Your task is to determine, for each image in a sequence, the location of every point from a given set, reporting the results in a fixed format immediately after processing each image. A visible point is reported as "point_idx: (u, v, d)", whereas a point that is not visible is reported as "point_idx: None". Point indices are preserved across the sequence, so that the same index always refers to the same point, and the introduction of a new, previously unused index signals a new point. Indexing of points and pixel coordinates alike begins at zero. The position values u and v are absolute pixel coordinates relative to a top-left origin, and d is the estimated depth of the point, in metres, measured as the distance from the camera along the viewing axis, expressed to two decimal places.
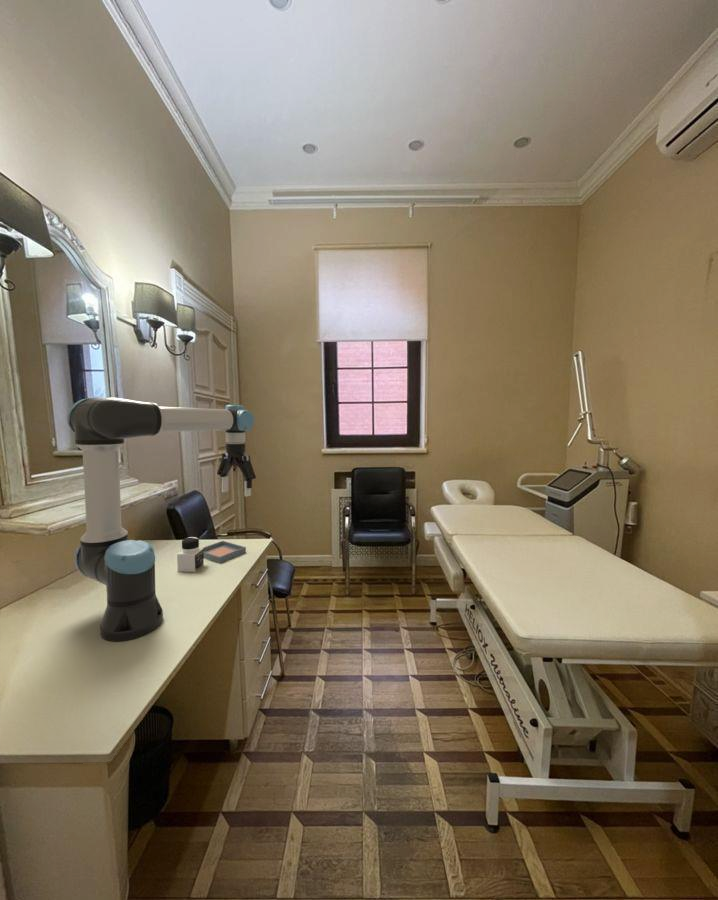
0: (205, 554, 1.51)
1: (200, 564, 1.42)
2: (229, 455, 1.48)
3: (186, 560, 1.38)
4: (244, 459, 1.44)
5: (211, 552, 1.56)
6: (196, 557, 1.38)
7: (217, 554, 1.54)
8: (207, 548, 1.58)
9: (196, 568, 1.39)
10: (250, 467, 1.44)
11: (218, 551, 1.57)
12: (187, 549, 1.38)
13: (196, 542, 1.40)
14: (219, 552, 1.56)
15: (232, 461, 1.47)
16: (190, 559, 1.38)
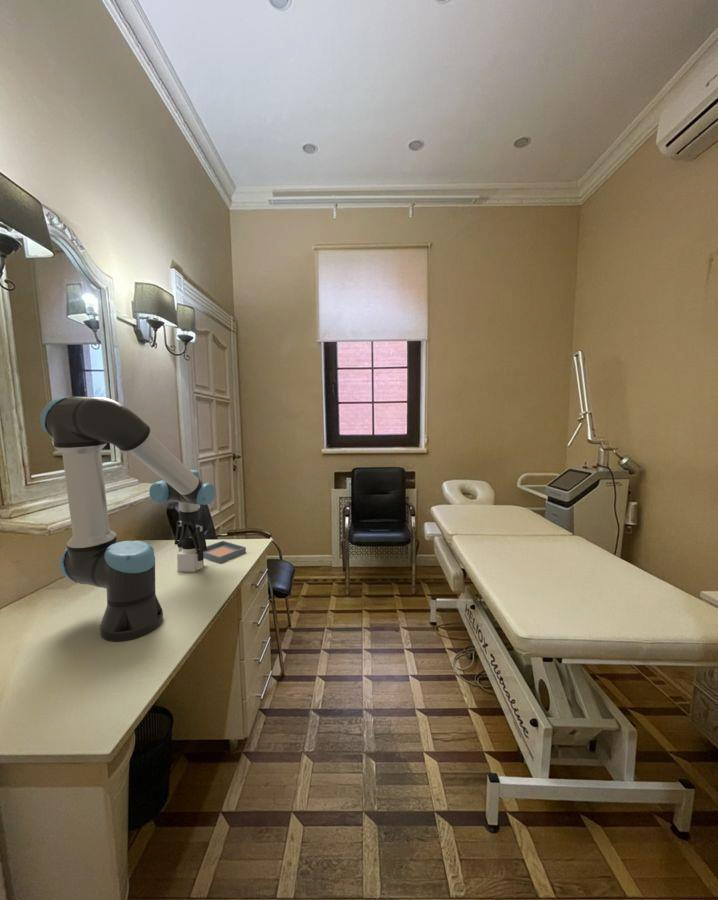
0: (205, 554, 1.51)
1: None
2: (183, 522, 1.40)
3: (186, 560, 1.38)
4: (197, 530, 1.36)
5: (211, 552, 1.56)
6: None
7: (217, 554, 1.54)
8: (207, 548, 1.58)
9: None
10: (202, 539, 1.37)
11: (218, 551, 1.57)
12: (187, 549, 1.38)
13: None
14: (219, 552, 1.56)
15: (186, 529, 1.40)
16: (190, 558, 1.38)
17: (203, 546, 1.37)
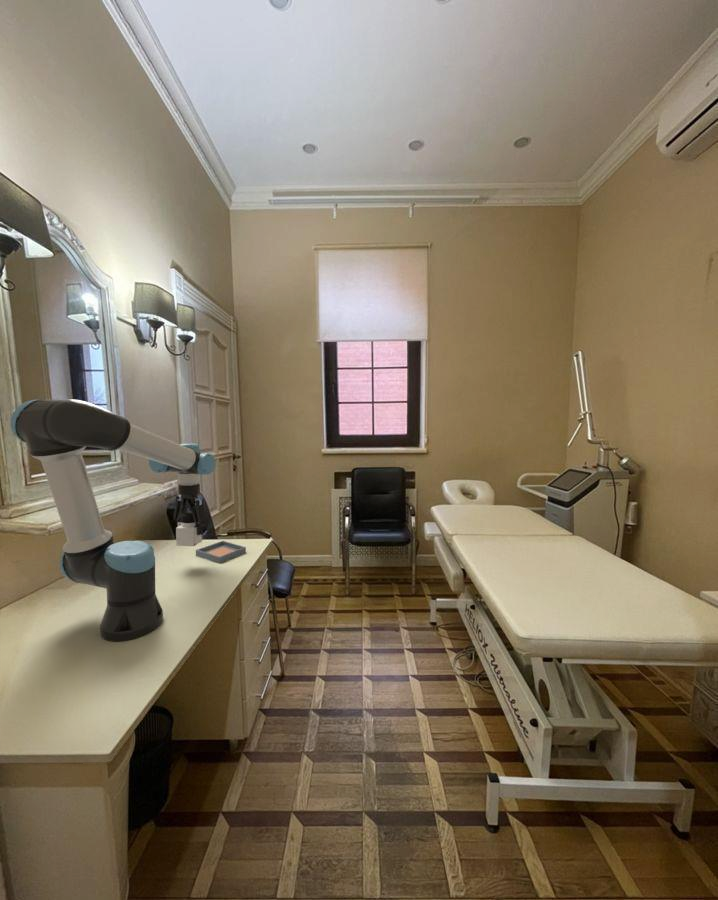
0: (205, 554, 1.51)
1: None
2: (182, 496, 1.39)
3: (185, 534, 1.36)
4: (196, 503, 1.35)
5: (211, 552, 1.56)
6: None
7: (217, 554, 1.54)
8: (207, 548, 1.58)
9: None
10: (202, 512, 1.36)
11: (218, 551, 1.57)
12: (186, 523, 1.37)
13: None
14: (219, 552, 1.56)
15: (185, 503, 1.39)
16: (189, 532, 1.36)
17: (202, 520, 1.36)
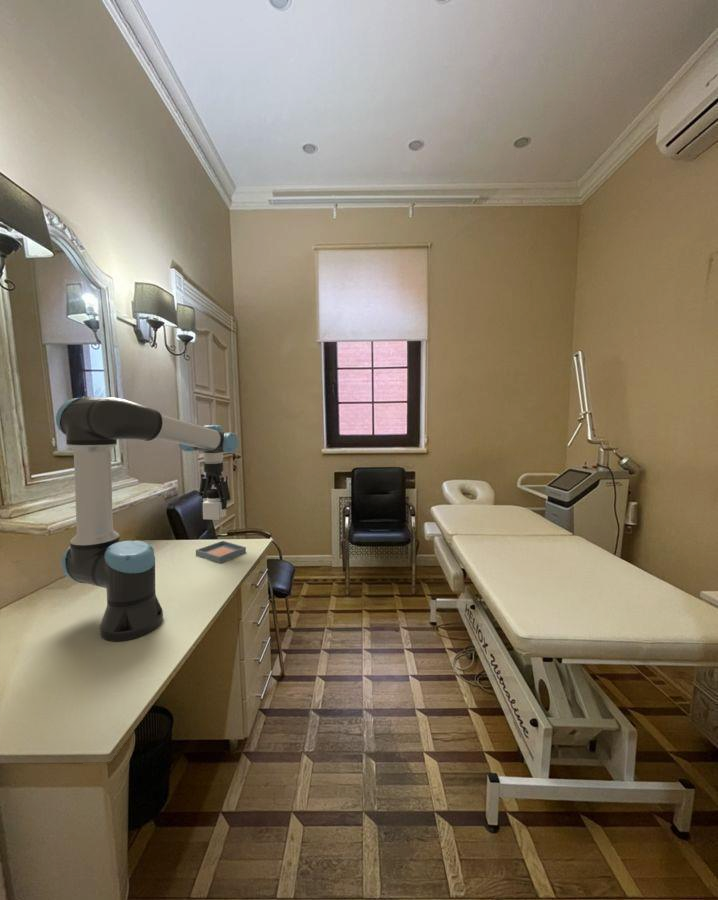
0: (205, 554, 1.51)
1: None
2: (207, 474, 1.50)
3: (210, 508, 1.48)
4: (221, 480, 1.46)
5: (211, 552, 1.56)
6: None
7: (217, 554, 1.54)
8: (207, 548, 1.58)
9: None
10: (226, 488, 1.47)
11: (218, 551, 1.57)
12: (212, 498, 1.48)
13: None
14: (219, 552, 1.56)
15: (210, 480, 1.50)
16: (214, 507, 1.48)
17: (227, 495, 1.47)
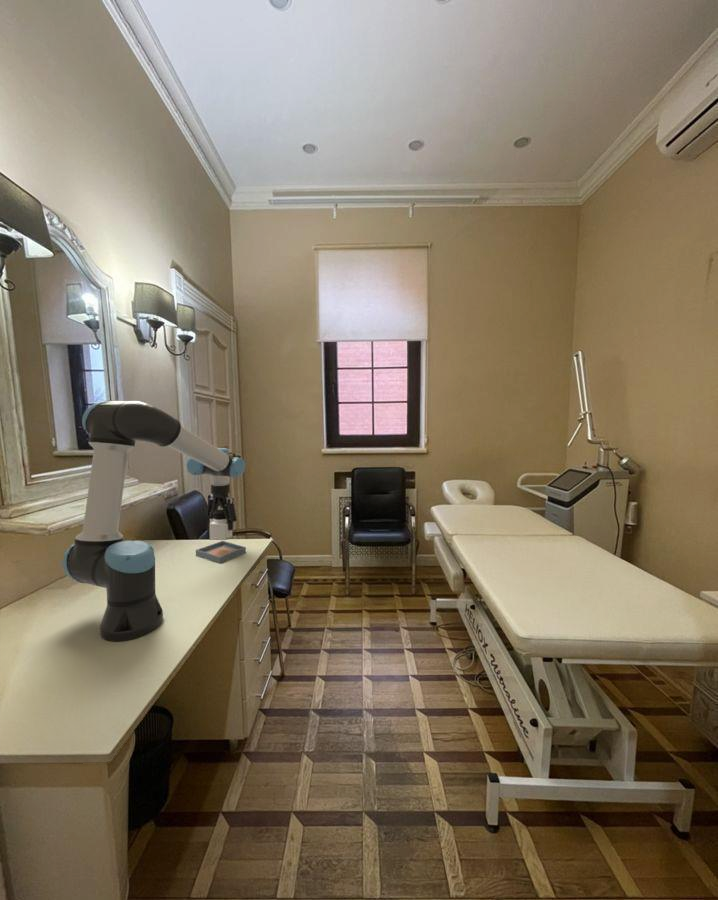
0: (205, 554, 1.51)
1: None
2: (214, 495, 1.54)
3: (217, 529, 1.52)
4: (228, 502, 1.50)
5: (211, 552, 1.56)
6: None
7: (217, 554, 1.54)
8: (207, 548, 1.58)
9: None
10: (232, 510, 1.51)
11: (218, 551, 1.57)
12: (218, 519, 1.52)
13: None
14: (219, 552, 1.56)
15: (217, 501, 1.54)
16: (221, 528, 1.52)
17: (233, 516, 1.51)
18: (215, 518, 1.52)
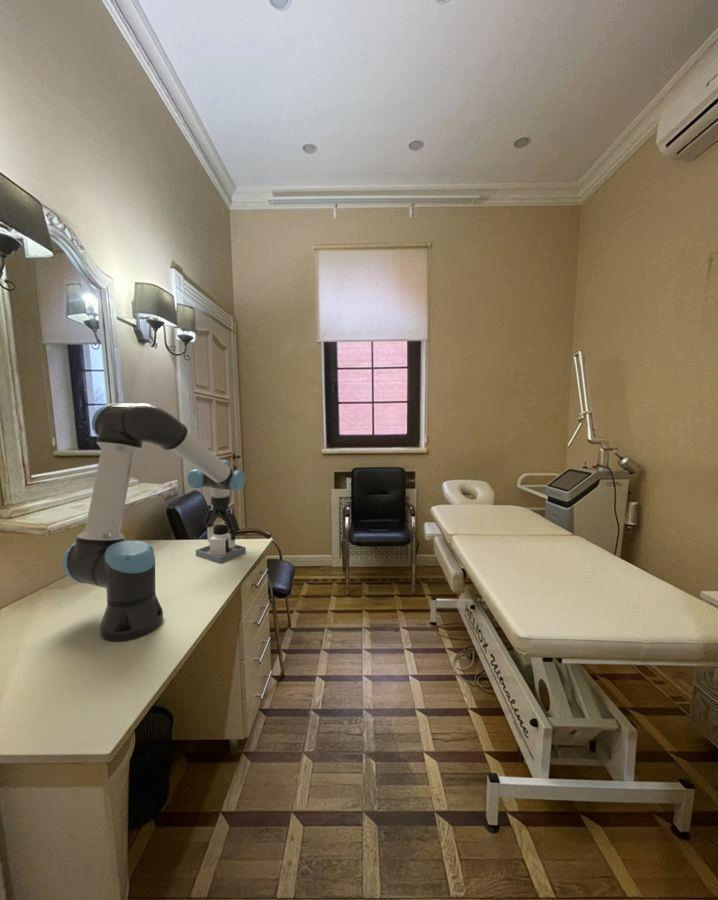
0: (205, 554, 1.51)
1: (229, 549, 1.57)
2: (214, 507, 1.55)
3: (217, 544, 1.52)
4: (228, 513, 1.51)
5: None
6: (226, 542, 1.53)
7: None
8: (207, 548, 1.58)
9: (226, 552, 1.53)
10: (234, 520, 1.51)
11: None
12: (218, 534, 1.53)
13: (226, 528, 1.54)
14: None
15: (217, 513, 1.54)
16: (221, 543, 1.52)
17: (235, 526, 1.50)
18: (215, 533, 1.53)
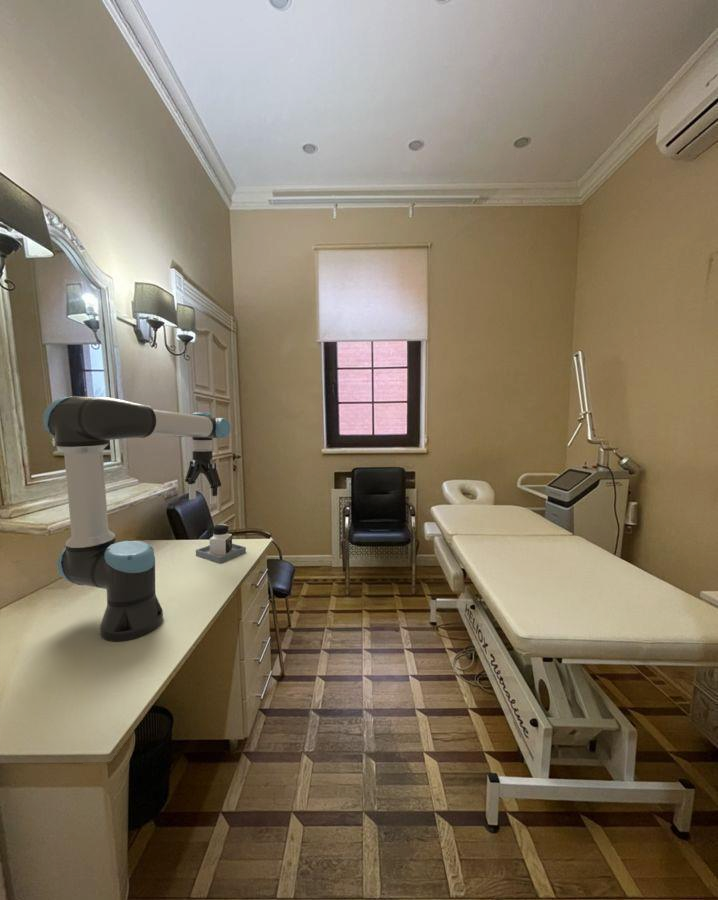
0: (205, 554, 1.51)
1: (229, 549, 1.57)
2: (196, 462, 1.48)
3: (217, 544, 1.52)
4: (210, 466, 1.44)
5: None
6: (226, 542, 1.53)
7: None
8: (207, 548, 1.58)
9: (226, 552, 1.53)
10: (216, 475, 1.44)
11: None
12: (218, 534, 1.53)
13: (226, 528, 1.54)
14: None
15: (199, 468, 1.47)
16: (221, 543, 1.52)
17: (217, 481, 1.43)
18: (215, 533, 1.53)
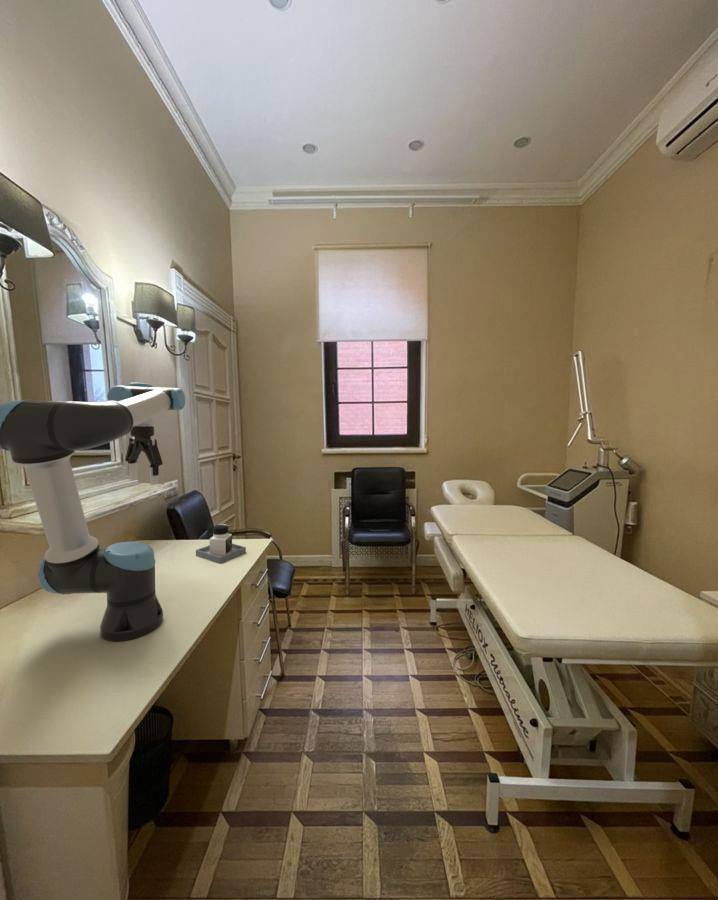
0: (205, 554, 1.51)
1: (229, 549, 1.57)
2: (135, 439, 1.33)
3: (217, 544, 1.52)
4: (149, 443, 1.29)
5: None
6: (226, 542, 1.53)
7: None
8: (207, 548, 1.58)
9: (226, 552, 1.53)
10: (156, 452, 1.29)
11: None
12: (218, 534, 1.53)
13: (226, 528, 1.54)
14: None
15: (138, 446, 1.33)
16: (221, 543, 1.52)
17: (157, 459, 1.29)
18: (215, 533, 1.53)
